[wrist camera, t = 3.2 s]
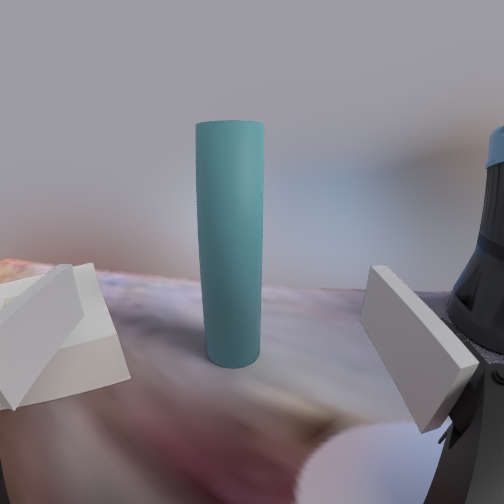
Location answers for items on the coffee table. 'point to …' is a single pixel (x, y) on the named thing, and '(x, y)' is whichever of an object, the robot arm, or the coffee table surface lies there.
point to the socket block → (77, 344)
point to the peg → (230, 237)
